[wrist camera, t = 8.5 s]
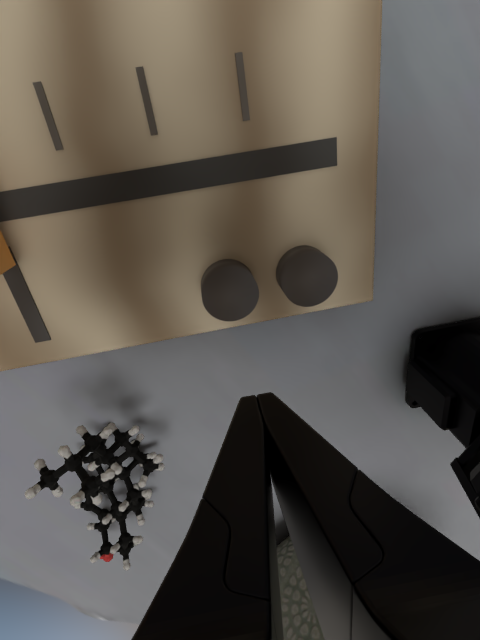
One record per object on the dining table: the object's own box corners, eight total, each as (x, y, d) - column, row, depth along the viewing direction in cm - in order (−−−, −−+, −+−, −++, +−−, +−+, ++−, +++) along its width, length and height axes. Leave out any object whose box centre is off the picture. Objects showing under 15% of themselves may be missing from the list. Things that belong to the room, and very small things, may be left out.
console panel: (361, -69, 14) (408, -129, 11) (357, 288, 22) (386, 311, 19) (-251, 11, 13) (-387, -32, 10) (-39, 362, 20) (-80, 400, 17)
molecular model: (83, 530, 28) (47, 666, 20) (62, 372, 22) (1, 486, 14) (163, 524, 29) (158, 651, 22) (166, 372, 23) (159, 478, 15)
